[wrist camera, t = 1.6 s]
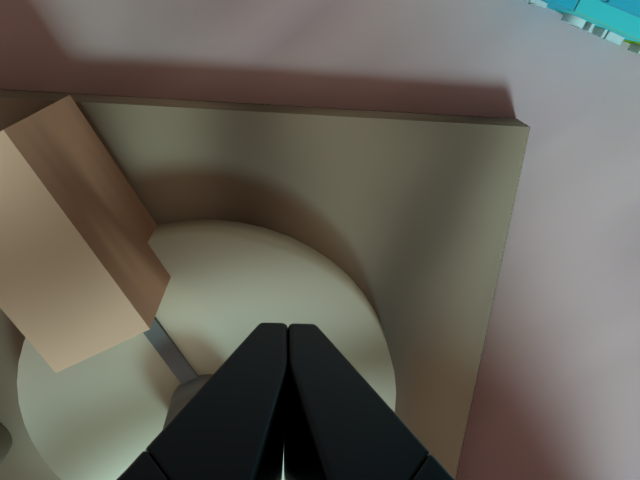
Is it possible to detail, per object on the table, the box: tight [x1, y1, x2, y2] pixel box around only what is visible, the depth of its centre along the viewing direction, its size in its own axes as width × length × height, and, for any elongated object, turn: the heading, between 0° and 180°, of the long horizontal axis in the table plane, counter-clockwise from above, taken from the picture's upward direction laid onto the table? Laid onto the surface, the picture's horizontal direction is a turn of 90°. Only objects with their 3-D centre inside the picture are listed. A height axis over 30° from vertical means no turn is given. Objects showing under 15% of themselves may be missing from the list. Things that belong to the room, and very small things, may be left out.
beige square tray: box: [0, 90, 530, 480], centre depth 20 cm, size 20×20×6 cm
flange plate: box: [0, 95, 396, 480], centre depth 19 cm, size 18×13×4 cm
